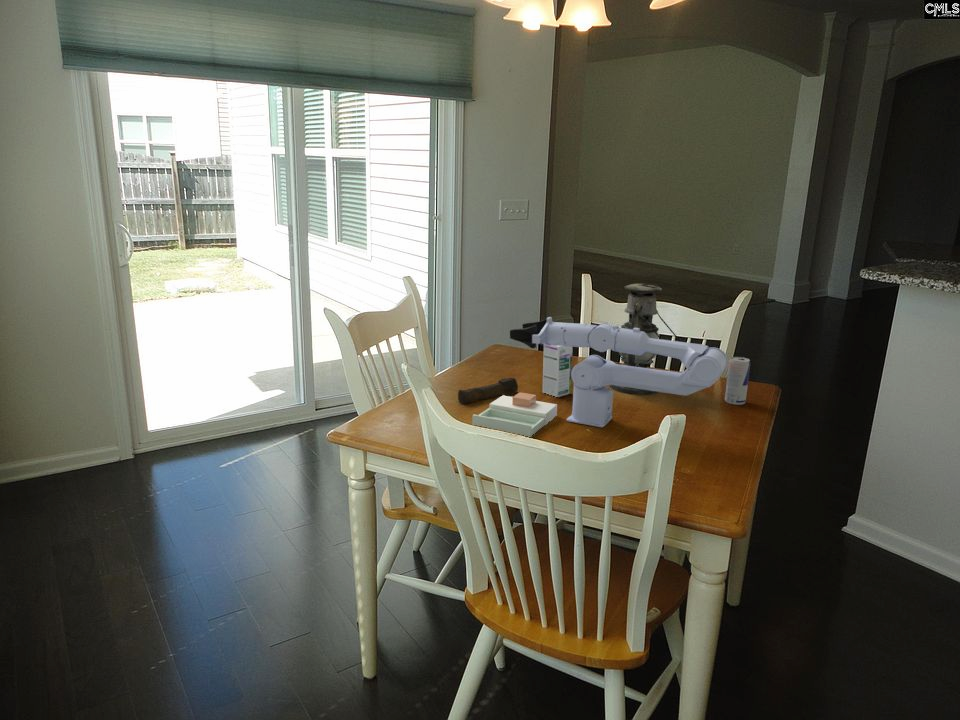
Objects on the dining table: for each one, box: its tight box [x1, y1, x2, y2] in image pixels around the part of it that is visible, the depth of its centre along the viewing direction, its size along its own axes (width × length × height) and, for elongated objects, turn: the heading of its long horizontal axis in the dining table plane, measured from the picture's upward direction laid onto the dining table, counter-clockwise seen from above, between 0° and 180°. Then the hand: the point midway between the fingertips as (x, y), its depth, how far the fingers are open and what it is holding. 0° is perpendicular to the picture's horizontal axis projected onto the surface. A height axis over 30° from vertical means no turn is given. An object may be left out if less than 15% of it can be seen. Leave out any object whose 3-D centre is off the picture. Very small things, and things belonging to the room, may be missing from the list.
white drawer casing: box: [488, 395, 558, 426], centre depth 176 cm, size 15×8×3 cm, turn 63°
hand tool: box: [457, 377, 519, 405], centre depth 189 cm, size 19×4×5 cm, turn 123°
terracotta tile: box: [512, 392, 537, 408], centre depth 176 cm, size 4×4×2 cm
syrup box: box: [542, 344, 573, 398], centre depth 192 cm, size 6×6×14 cm
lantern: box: [609, 282, 681, 396], centre depth 196 cm, size 19×19×30 cm
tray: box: [471, 407, 546, 438], centre depth 169 cm, size 15×9×3 cm, turn 63°
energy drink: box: [724, 356, 751, 406], centre depth 188 cm, size 5×5×12 cm
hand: (516, 331), depth 178 cm, fingers open, 7 cm apart
